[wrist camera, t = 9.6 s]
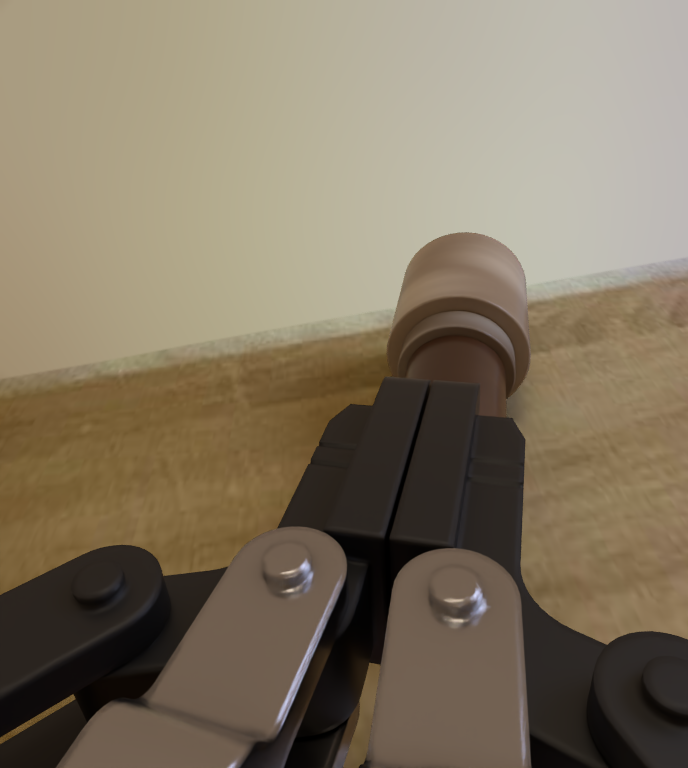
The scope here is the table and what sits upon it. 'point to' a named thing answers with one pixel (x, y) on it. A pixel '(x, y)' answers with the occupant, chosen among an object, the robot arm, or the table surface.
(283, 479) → the table surface
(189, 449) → the table surface
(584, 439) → the table surface
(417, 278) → the brush
